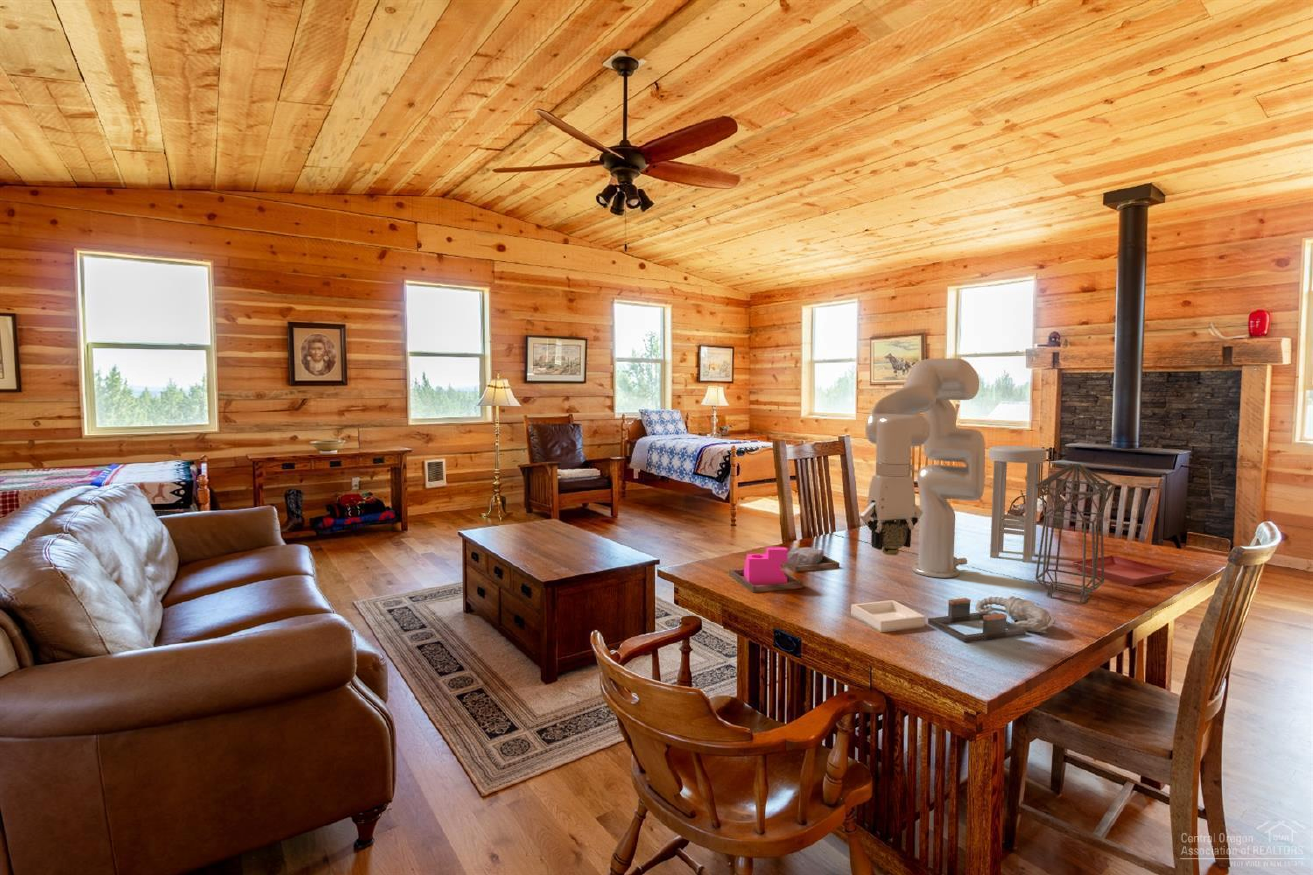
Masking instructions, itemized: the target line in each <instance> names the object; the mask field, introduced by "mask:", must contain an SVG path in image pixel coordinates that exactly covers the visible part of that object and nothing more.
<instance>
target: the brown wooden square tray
mask: <svg viewBox="0 0 1313 875" xmlns="http://www.w3.org/2000/svg"><path fill="white" fill-rule="evenodd" d="M783 572H784V574H785V575H786V577H787V583H779V584H768V585H758V586H754V585H753V584H751V583H750V582H749V581H747V580H746V578H745V577H743V576H744V568H735V569H729V570H728V575H729V577H731V578H733V579H734V580H735V581H736V582H738V583H740V584H741V585H742V586H744V587H745V588H746V589H748V590H749V591H751V592H752V593H763V592H771V591H782V590H792V589H803V587H804V586H803V585H804V583H803V581H801V580H800V579H798V578H796V577H794V576H793V575H791V574H790V573H789V572H786V571H784V570H783ZM742 575H743V576H742Z"/></svg>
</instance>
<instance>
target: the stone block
mask: <svg viewBox="0 0 1313 875" xmlns="http://www.w3.org/2000/svg"><path fill="white" fill-rule="evenodd" d="M823 556H825V555H824V549H818V548H814V547H808V546H805V547H797V548H794V549H791V550H790V552H789V553H788V556H787V561H789V562H791V563H792V564H794V565H796V566H801V565H813V564H820V562H823V561H822V560H823Z"/></svg>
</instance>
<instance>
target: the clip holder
mask: <svg viewBox="0 0 1313 875" xmlns="http://www.w3.org/2000/svg"><path fill="white" fill-rule="evenodd" d="M947 603H948V606H947V608H948V609H947V616H946V615H945V616H937V617H928V618H927V624H928V625H930V626H932V627H934V628H936V629H938V630H940V631H942V632H944V633H945V634H948V635H950V636H951V637H953V638H955V639H957V640H959V641H961V642H963V643H965V644H968V643H977V642H984V641H992V640H997V639H1006V638H1013V637H1020V636H1022V637H1023V636H1026V635H1027V631H1026V629H1024V628H1021V627H1019V626H1017V625H1015V624H1012V622H1010V621H1008V620H1007V618H1008V614H1005V613H1002V612H1000V613H990V612H989V613H987V612H978V611H977V612H971V599H969V598H967V597H963V598H953V599H948V600H947ZM978 620H979V621H980V620H982V632H978V633H970V634H964V633H962V632H960V631H958V630H957V629H955V628H953V627H951V626H949V625H947V624H952V623H961V622H969V621H978Z"/></svg>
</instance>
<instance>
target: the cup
mask: <svg viewBox="0 0 1313 875" xmlns="http://www.w3.org/2000/svg"><path fill="white" fill-rule="evenodd" d="M877 523H878V522H877V521H876V525H877ZM908 525H909V522H908V523H907V524H906V522H905V521H904V520H901V521H900V520H893V521H885V522H884V524H882V529H881V531H880V532H882V533H883V548H882V550H881V551H882V553H883V554H884V555H887V556H894V557H895V556H898V555H899V553H900V548H903V547H904V546H903V545H904V544H905V541H906V537H907V531H908Z"/></svg>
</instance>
